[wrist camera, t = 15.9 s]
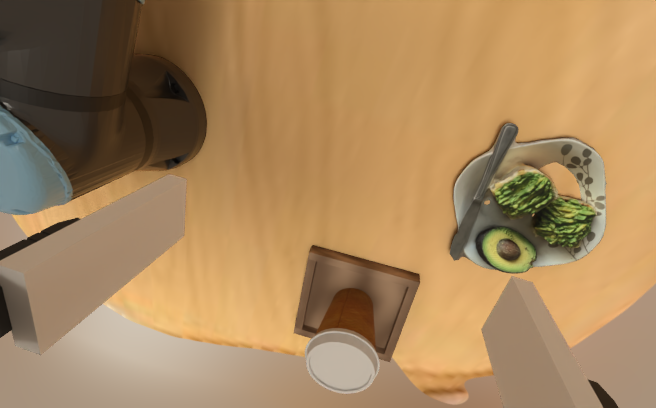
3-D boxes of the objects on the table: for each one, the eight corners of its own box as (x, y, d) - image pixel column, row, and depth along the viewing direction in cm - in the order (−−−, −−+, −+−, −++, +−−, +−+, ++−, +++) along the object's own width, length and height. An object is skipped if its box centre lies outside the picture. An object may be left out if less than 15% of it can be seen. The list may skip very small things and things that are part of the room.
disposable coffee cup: (371, 336, 55) (364, 406, 44) (315, 315, 55) (294, 379, 44) (393, 292, 50) (390, 356, 40) (332, 270, 51) (313, 327, 40)
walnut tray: (297, 324, 58) (293, 332, 56) (312, 245, 51) (309, 252, 49) (390, 352, 56) (389, 362, 54) (419, 274, 49) (419, 282, 48)
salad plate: (432, 134, 42) (435, 143, 38) (604, 100, 37) (630, 106, 33) (451, 268, 48) (455, 288, 44) (598, 255, 44) (619, 276, 39)
